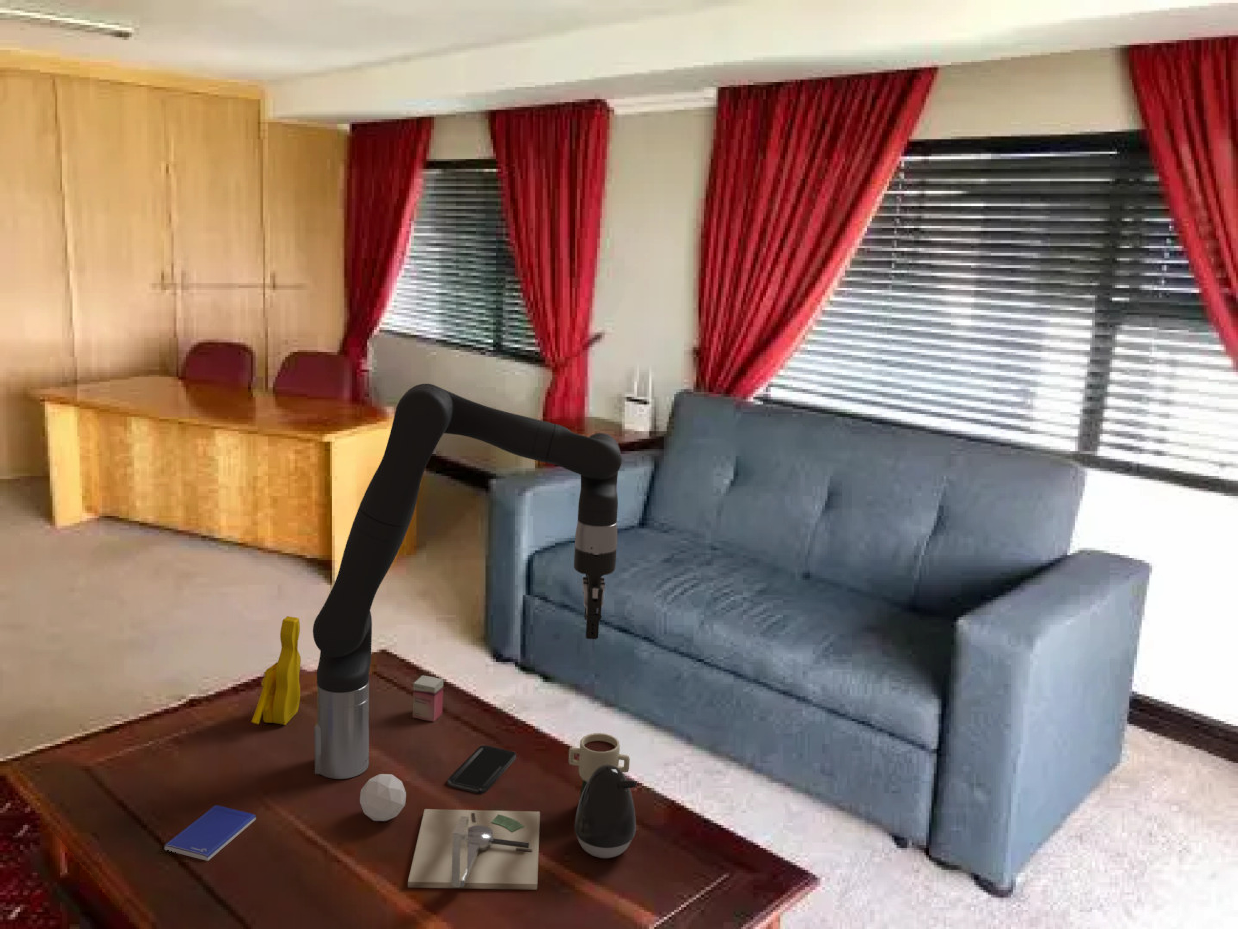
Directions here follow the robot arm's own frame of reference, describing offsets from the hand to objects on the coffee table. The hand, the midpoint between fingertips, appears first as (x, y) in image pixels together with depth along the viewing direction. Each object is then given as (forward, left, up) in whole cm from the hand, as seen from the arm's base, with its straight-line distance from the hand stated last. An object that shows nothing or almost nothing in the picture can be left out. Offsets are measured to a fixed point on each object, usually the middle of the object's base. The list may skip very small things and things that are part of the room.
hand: (591, 629), depth 188 cm
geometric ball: (-35, -16, -30) cm, 48 cm away
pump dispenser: (+3, -24, -30) cm, 38 cm away
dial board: (-18, -25, -29) cm, 42 cm away
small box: (-32, +21, -30) cm, 48 cm away
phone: (-19, 0, -30) cm, 35 cm away
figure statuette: (-61, +18, -30) cm, 70 cm away
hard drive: (-62, -22, -30) cm, 72 cm away
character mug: (+2, -12, -29) cm, 32 cm away
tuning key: (-16, -31, -28) cm, 45 cm away
